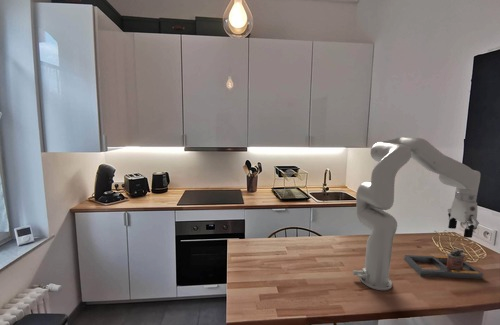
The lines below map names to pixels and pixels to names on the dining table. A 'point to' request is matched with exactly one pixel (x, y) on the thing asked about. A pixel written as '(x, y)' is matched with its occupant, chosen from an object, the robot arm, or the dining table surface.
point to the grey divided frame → (441, 267)
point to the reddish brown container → (455, 260)
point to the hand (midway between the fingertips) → (459, 232)
